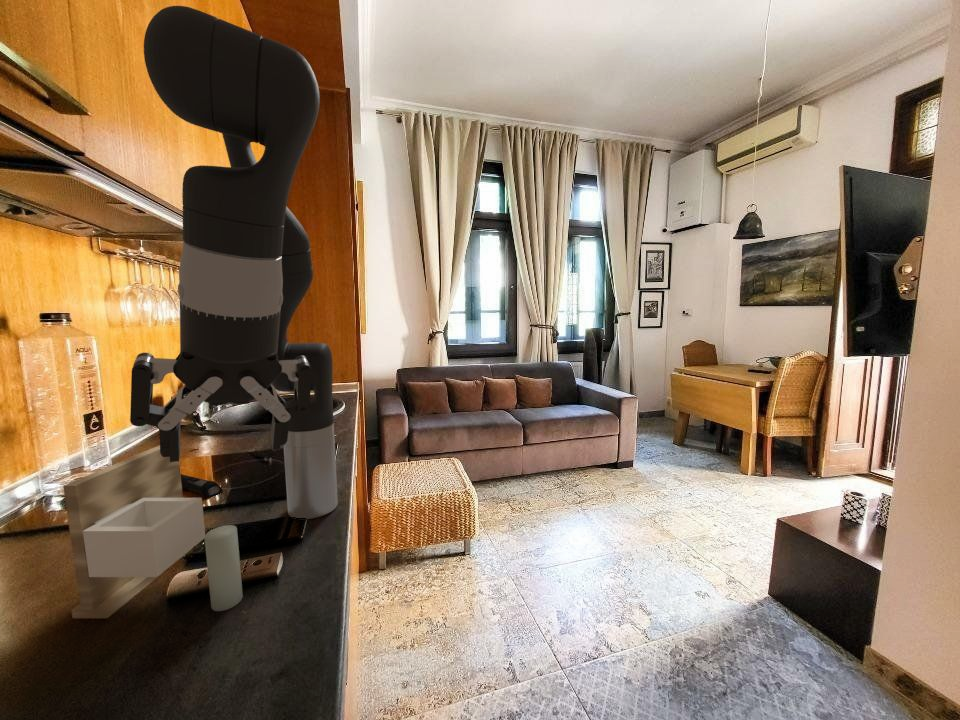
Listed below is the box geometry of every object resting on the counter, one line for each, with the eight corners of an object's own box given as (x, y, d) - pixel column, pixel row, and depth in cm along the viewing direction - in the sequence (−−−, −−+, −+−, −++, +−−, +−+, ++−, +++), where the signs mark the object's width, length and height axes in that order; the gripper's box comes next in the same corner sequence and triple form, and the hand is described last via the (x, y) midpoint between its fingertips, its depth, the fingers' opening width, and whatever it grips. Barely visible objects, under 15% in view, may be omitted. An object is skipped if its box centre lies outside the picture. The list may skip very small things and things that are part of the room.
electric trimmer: (183, 481, 91) (181, 468, 90) (224, 493, 84) (223, 479, 84) (164, 488, 87) (162, 474, 87) (206, 501, 81) (205, 486, 80)
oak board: (171, 543, 65) (160, 441, 63) (198, 543, 65) (187, 441, 63) (72, 618, 50) (53, 485, 47) (107, 618, 50) (89, 485, 47)
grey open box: (142, 537, 57) (138, 497, 56) (205, 537, 57) (201, 497, 56) (83, 577, 48) (77, 531, 48) (157, 577, 48) (151, 531, 48)
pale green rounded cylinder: (222, 591, 54) (216, 525, 53) (248, 591, 54) (242, 525, 53) (204, 611, 51) (197, 540, 49) (232, 611, 51) (225, 540, 49)
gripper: (311, 295, 41) (297, 425, 46) (132, 277, 33) (141, 437, 38) (327, 320, 35) (309, 464, 41) (115, 305, 27) (128, 488, 32)
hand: (228, 451), depth 39 cm, fingers open, 8 cm apart
